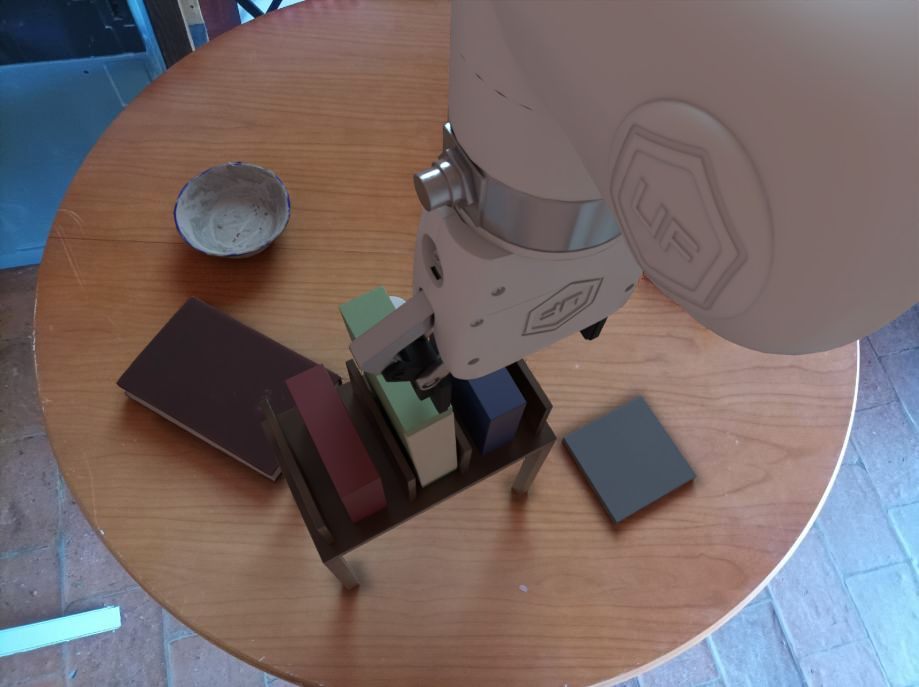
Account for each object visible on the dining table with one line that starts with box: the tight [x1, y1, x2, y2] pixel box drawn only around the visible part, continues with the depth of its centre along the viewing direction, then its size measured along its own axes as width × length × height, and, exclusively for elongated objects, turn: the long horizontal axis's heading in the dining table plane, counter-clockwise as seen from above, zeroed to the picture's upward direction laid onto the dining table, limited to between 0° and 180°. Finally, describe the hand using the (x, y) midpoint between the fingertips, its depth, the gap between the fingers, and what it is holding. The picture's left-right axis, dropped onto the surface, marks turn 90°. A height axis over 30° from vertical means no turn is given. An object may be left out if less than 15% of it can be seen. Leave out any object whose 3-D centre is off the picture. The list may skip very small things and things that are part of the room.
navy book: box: [428, 333, 526, 456], centre depth 52 cm, size 9×3×8 cm, turn 28°
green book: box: [338, 285, 457, 488], centre depth 48 cm, size 9×3×15 cm, turn 29°
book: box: [115, 295, 343, 484], centre depth 73 cm, size 12×19×3 cm, turn 61°
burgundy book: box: [285, 362, 387, 524], centre depth 50 cm, size 9×3×8 cm, turn 29°
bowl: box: [172, 161, 291, 260], centre depth 81 cm, size 13×13×5 cm
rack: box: [259, 358, 558, 591], centre depth 60 cm, size 12×20×24 cm, turn 119°
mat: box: [561, 395, 698, 525], centre depth 73 cm, size 10×10×1 cm
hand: (506, 353), depth 40 cm, fingers open, 9 cm apart
